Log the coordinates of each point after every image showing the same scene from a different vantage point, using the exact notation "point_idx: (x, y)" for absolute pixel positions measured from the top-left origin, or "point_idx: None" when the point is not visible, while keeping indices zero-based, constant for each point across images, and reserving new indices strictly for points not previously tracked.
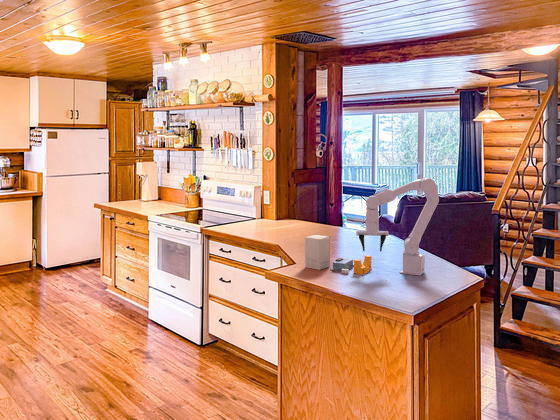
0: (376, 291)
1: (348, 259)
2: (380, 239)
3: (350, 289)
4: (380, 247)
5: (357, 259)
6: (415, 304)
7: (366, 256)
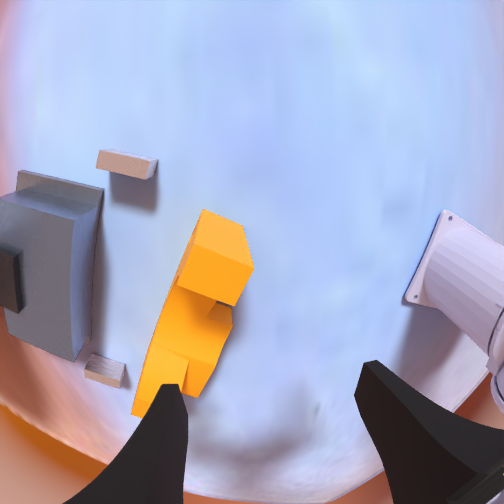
0: (272, 477)
1: (46, 236)
2: (406, 501)
3: (197, 479)
4: (372, 433)
5: (149, 404)
6: (344, 487)
7: (199, 293)
